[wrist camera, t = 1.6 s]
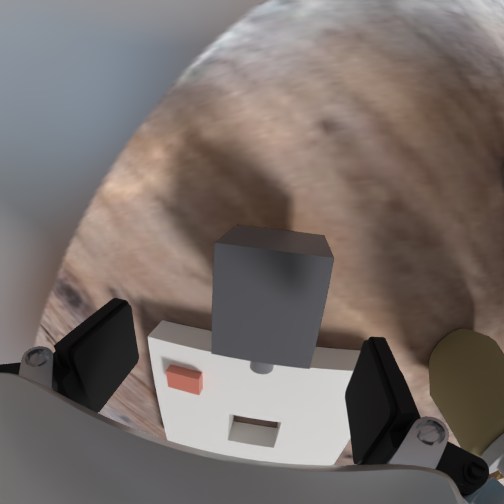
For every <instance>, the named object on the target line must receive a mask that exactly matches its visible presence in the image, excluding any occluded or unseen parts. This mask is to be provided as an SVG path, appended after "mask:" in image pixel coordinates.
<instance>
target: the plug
mask: <svg viewBox="0 0 504 504" xmlns="http://www.w3.org/2000/svg"><path fill="white" fill-rule="evenodd" d="M333 262H334V257H333V254H332V252H331V250H330V247H329V245H328V242H327V240H326V238H325V236H324V235H317V234H310V233H302V232H294V231H286V230H278V229H270V228H261V227H253V226H244V225H237V226H235V227H234V228H233V229H231V230H230V231H229V232H228V233H226V234H225V235H224V236H223V237H221V238H220V239H219V240H218V241H216V242H215V244H214V266H213V294H212V339H211V354H215V355H220V356H225V357H230V358H236V359H241V360H247V361H250V369H251V370H252V371H253V372H255V373H257V374H268V373H270V372H272V370H273V367H274V365H280V366H287V367H295V368H304V369H310V365H311V362H312V358H313V354H314V350H315V346H316V342H317V338H318V334H319V330H320V325H321V321H322V317H323V312H324V308H325V303H326V298H327V293H328V288H329V283H330V278H331V273H332V267H333Z"/></svg>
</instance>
